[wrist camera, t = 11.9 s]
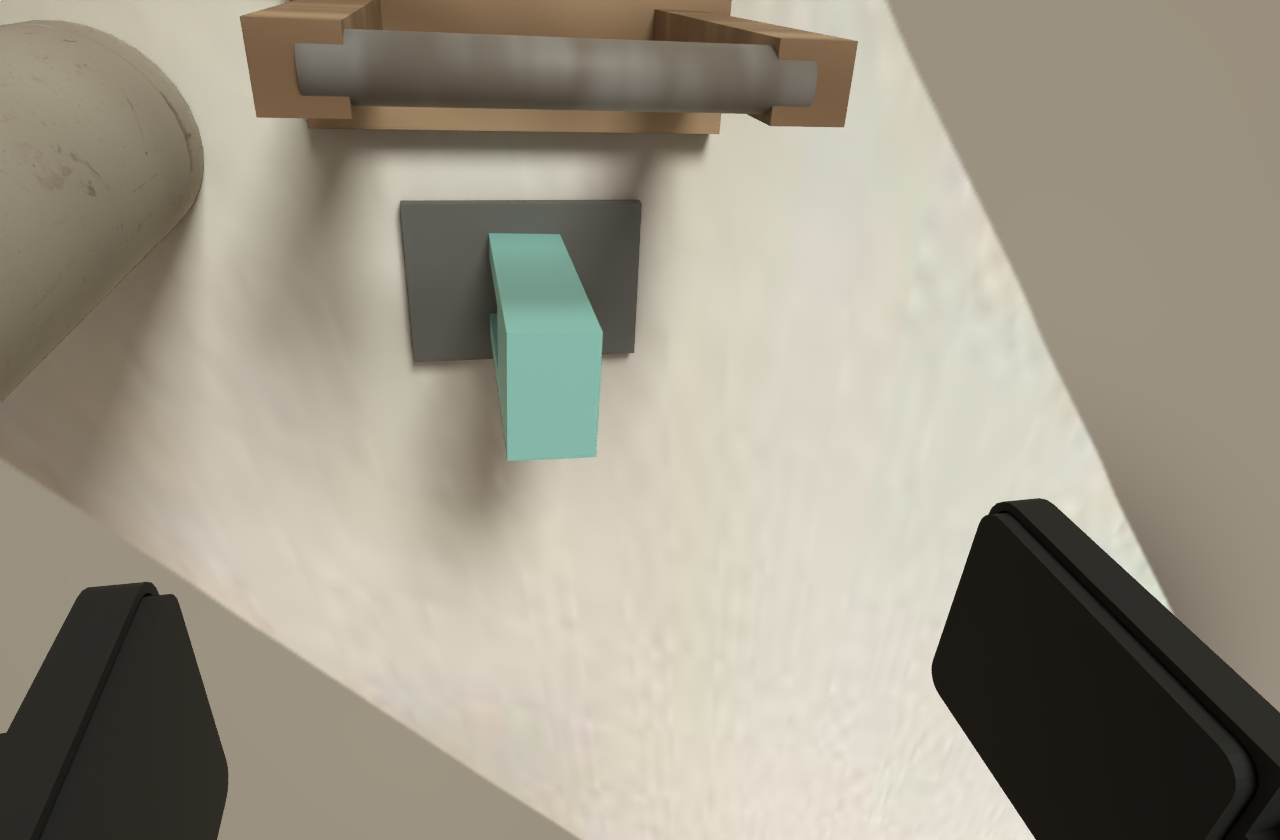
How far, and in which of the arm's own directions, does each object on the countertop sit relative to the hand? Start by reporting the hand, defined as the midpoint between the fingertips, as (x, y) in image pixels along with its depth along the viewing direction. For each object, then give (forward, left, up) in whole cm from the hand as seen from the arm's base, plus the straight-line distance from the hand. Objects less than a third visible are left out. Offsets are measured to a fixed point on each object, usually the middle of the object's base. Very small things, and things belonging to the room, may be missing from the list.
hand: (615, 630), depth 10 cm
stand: (-5, +1, -28) cm, 28 cm away
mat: (+5, +1, -28) cm, 28 cm away
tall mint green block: (+5, +1, -27) cm, 28 cm away
